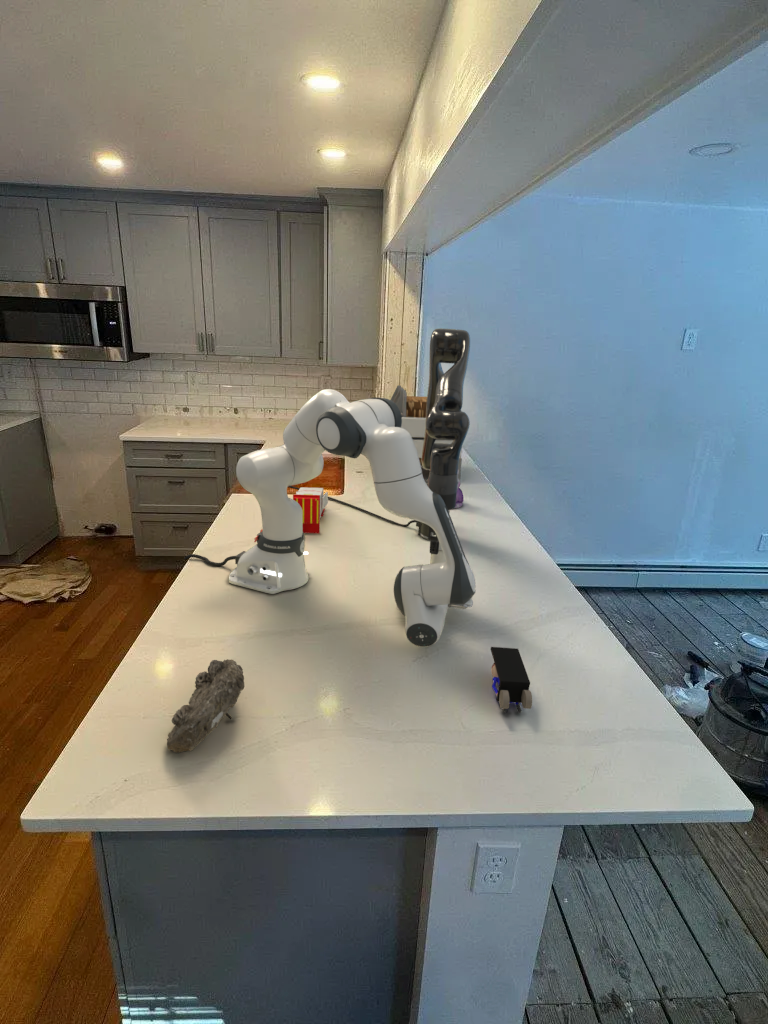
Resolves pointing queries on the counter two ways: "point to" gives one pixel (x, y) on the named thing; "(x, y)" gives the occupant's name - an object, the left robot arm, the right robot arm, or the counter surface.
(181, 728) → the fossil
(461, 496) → the figurine
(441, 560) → the beige canister
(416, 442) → the transformer
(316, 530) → the toy
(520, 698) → the figurine character
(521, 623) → the counter surface
